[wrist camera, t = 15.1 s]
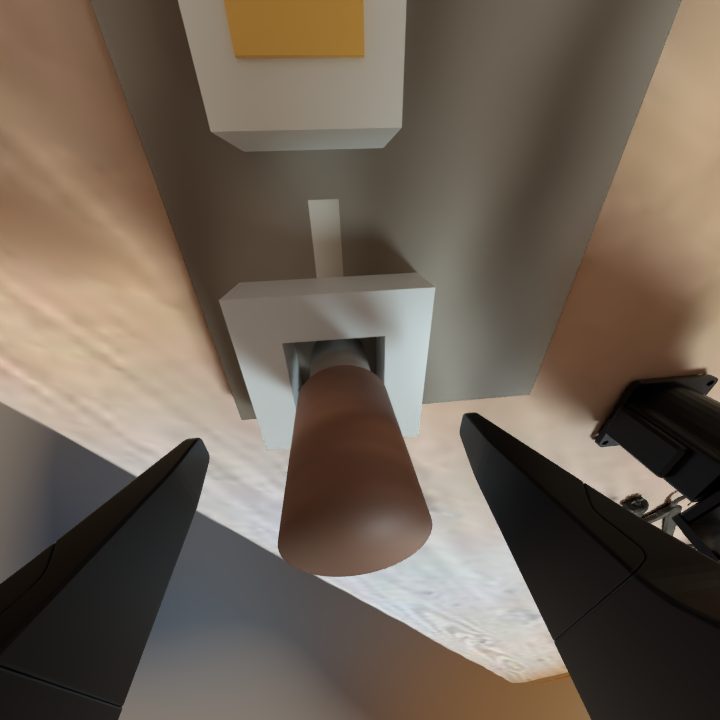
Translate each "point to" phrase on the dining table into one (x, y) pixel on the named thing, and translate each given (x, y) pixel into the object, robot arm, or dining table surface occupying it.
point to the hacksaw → (641, 506)
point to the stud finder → (299, 71)
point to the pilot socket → (329, 322)
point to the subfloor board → (413, 174)
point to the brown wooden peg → (349, 472)
